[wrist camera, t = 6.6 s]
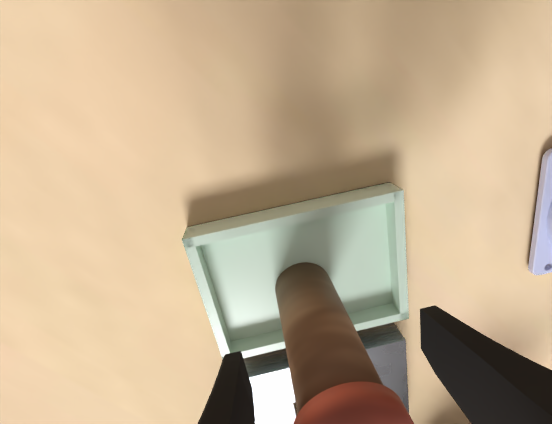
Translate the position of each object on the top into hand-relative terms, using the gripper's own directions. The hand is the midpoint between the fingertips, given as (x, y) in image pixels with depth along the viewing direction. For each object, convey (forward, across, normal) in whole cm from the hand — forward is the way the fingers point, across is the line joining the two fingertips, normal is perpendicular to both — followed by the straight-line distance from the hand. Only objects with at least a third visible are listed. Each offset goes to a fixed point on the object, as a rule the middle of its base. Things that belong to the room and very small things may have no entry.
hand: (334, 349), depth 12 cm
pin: (+6, 0, +1) cm, 6 cm away
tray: (+6, 0, 0) cm, 6 cm away
